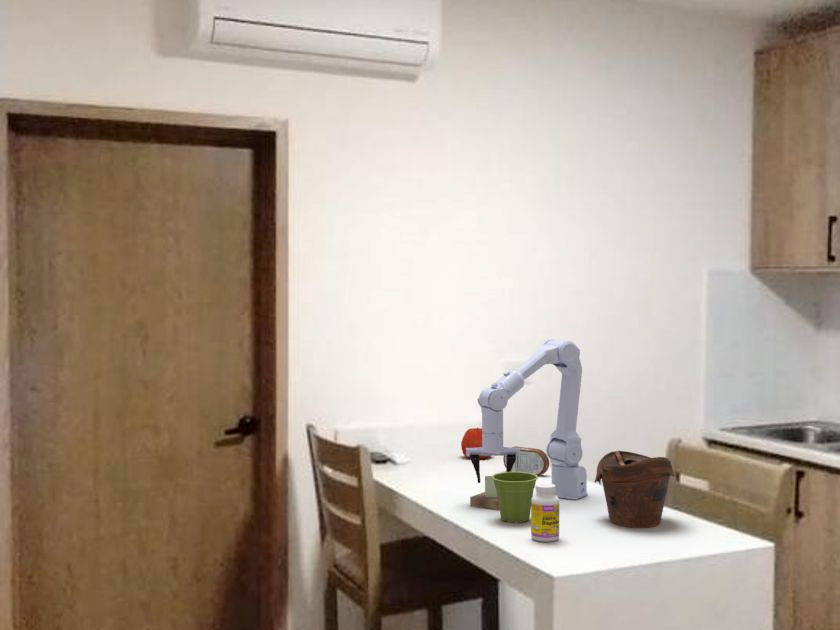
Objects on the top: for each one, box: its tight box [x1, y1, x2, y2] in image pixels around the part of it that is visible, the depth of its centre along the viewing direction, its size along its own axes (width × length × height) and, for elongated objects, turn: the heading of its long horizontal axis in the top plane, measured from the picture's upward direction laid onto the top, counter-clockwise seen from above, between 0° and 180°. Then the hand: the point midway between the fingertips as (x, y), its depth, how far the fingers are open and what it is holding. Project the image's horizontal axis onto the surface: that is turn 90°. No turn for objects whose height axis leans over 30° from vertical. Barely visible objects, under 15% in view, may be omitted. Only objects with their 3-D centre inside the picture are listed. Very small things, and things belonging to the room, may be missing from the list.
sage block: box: [484, 475, 498, 498], centre depth 272 cm, size 4×4×5 cm
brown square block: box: [469, 491, 500, 512], centre depth 272 cm, size 9×9×3 cm
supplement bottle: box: [530, 482, 560, 543], centre depth 237 cm, size 7×7×13 cm
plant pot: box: [491, 471, 539, 524], centre depth 255 cm, size 12×12×11 cm
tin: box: [503, 446, 550, 477], centre depth 313 cm, size 15×3×8 cm, turn 58°
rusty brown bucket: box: [594, 450, 675, 529], centre depth 253 cm, size 18×20×18 cm
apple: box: [460, 427, 491, 460], centre depth 341 cm, size 11×11×11 cm
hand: (493, 482), depth 272 cm, fingers open, 7 cm apart
